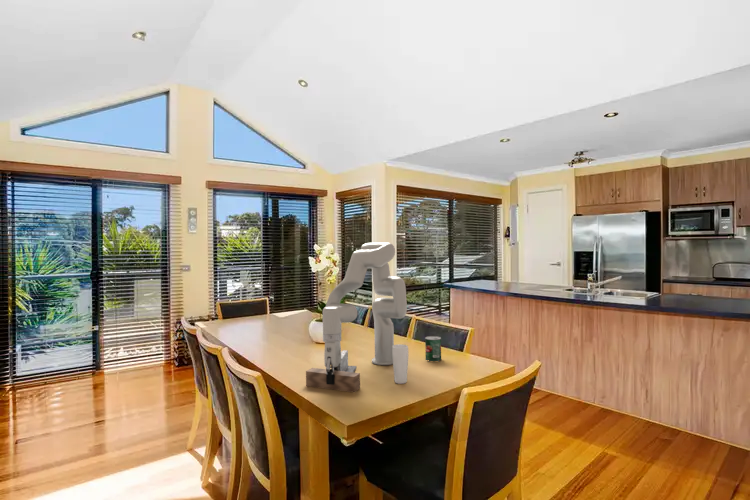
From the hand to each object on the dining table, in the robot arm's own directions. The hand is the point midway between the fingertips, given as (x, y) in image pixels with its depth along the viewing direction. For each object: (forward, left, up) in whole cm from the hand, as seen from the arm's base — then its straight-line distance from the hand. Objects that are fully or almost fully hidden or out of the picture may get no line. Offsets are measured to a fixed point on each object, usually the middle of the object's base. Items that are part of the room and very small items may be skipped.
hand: (332, 380), depth 156 cm
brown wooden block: (0, 0, -2) cm, 2 cm away
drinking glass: (-27, -8, -3) cm, 28 cm away
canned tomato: (-41, -42, -3) cm, 59 cm away
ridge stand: (0, -16, -2) cm, 16 cm away
